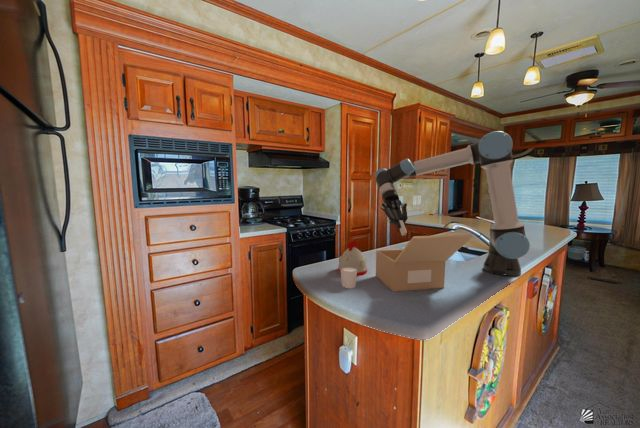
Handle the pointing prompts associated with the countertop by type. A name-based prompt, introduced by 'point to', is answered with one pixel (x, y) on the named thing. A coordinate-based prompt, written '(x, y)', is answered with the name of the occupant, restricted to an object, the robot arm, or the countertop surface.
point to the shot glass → (348, 277)
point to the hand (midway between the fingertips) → (404, 233)
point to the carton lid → (432, 248)
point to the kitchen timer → (353, 259)
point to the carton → (408, 272)
